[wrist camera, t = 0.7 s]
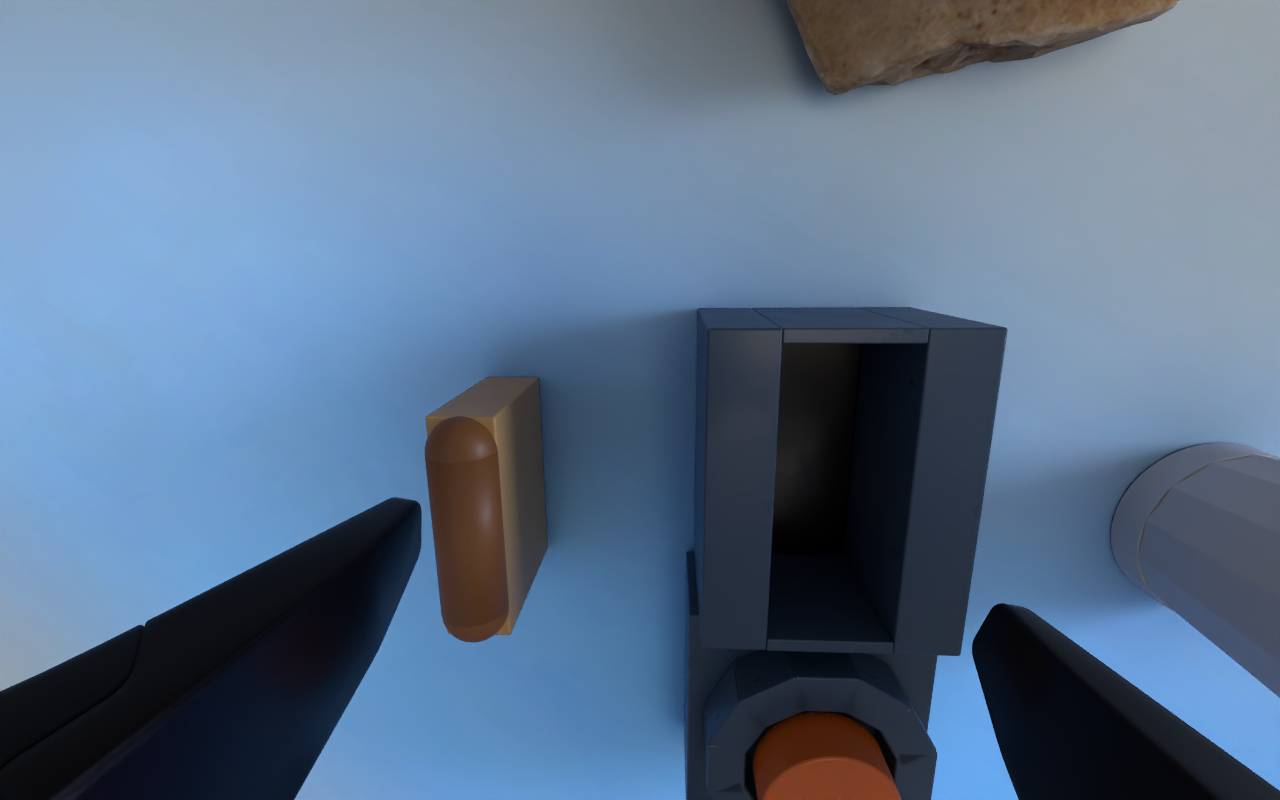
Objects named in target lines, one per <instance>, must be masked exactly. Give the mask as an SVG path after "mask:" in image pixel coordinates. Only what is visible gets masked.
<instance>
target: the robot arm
mask: <svg viewBox="0 0 1280 800" xmlns="http://www.w3.org/2000/svg"><path fill="white" fill-rule="evenodd" d="M420 549H421V506H420V504H419V503H418V502H417V501H414V500H408V499H403V498H396V497H393V498H390V499H387V500H385V501H383V502H382V503H380V504H378V505H376V506H374V507H372V508H370V509H368V510H366V511H364V512H362V513H360V514H358V515H356V516H354V517H352V518H350V519H348V520H346V521H344V522H342V523H340V524H338V525H336V526H334V527H332V528H330V529H328V530H326V531H324V532H322V533H320V534H318V535H316V536H314V537H312V538H310V539H308V540H306V541H304V542H302V543H300V544H298V545H296V546H294V547H293V548H291V549H289V550H287V551H285V552H283V553H281V554H279V555H277V556H275V557H273V558H271V559H269V560H267V561H265V562H263V563H261V564H259V565H257V566H255V567H253V568H251V569H249V570H247V571H245V572H243V573H241V574H239V575H237V576H235V577H233V578H231V579H229V580H227V581H225V582H223V583H221V584H219V585H217V586H215V587H213V588H211V589H209V590H207V591H206V592H204V593H202V594H200V595H198V596H196V597H194V598H192V599H190V600H188V601H186V602H184V603H182V604H180V605H178V606H176V607H174V608H172V609H170V610H168V611H166V612H164V613H162V614H160V615H158V616H156V617H154V618H152V619H150V620H148V621H147V622H146V624H145V627H144V626H143V625H138V626H136V627H134V628H132V629H130V630H128V631H126V632H124V633H122V634H120V635H118V636H116V637H114V638H112V639H110V640H108V641H106V642H104V643H102V644H100V645H98V646H96V647H94V648H92V649H90V650H88V651H86V652H84V653H82V654H80V655H77V656H75V657H73V658H71V659H69V660H67V661H65V662H63V663H61V664H59V665H57V666H55V667H53V668H51V669H49V670H47V671H45V672H42V673H40V674H38V675H36V676H34V677H31V678H29V679H27V680H25V681H22V682H20V683H18V684H16V685H14V686H11V687H9V688H7V689H5V690H3V691H0V800H294V799H295V797H296V795H297V794H298V792H299V790H300V788H301V787H302V785H303V783H304V781H305V780H306V778H307V776H308V774H309V773H310V771H311V769H312V767H313V765H314V764H315V762H316V760H317V758H318V757H319V755H320V753H321V751H322V750H323V748H324V746H325V744H326V743H327V741H328V739H329V737H330V735H331V734H332V732H333V730H334V728H335V727H336V725H337V723H338V721H339V720H340V718H341V716H342V714H343V713H344V711H345V709H346V707H347V705H348V704H349V702H350V700H351V698H352V697H353V695H354V693H355V691H356V690H357V688H358V686H359V684H360V682H361V681H362V679H363V677H364V675H365V674H366V672H367V670H368V668H369V667H370V665H371V663H372V661H373V659H374V657H375V655H376V653H377V652H378V650H379V647H380V645H381V643H382V641H383V639H384V636H385V634H386V632H387V630H388V627H389V625H390V623H391V620H392V618H393V616H394V613H395V611H396V609H397V606H398V604H399V602H400V599H401V597H402V595H403V592H404V590H405V588H406V585H407V583H408V581H409V578H410V576H411V574H412V571H413V569H414V567H415V564H416V562H417V560H418V557H419V553H420ZM972 654H973V659H974V662H975V666H976V669H977V673H978V676H979V679H980V683H981V686H982V690H983V693H984V697H985V700H986V704H987V707H988V710H989V714H990V717H991V721H992V724H993V728H994V731H995V735H996V738H997V741H998V744H999V748H1000V751H1001V754H1002V757H1003V760H1004V762H1005V765H1006V768H1007V771H1008V773H1009V776H1010V778H1011V781H1012V784H1013V786H1014V789H1015V791H1016V794H1017V796H1018V799H1019V800H1280V791H1279V790H1278V789H1276V788H1275V787H1274V786H1272V785H1271V784H1269V783H1268V782H1267V781H1265V780H1264V779H1263V778H1261V777H1260V776H1258V775H1257V774H1256V773H1254V772H1253V771H1252V770H1250V769H1249V768H1247V767H1246V766H1245V765H1243V764H1242V763H1240V762H1239V761H1238V760H1236V759H1235V758H1234V757H1232V756H1231V755H1229V754H1228V753H1227V752H1225V751H1224V750H1223V749H1221V748H1220V747H1218V746H1217V745H1216V744H1214V743H1213V742H1211V741H1210V740H1209V739H1207V738H1206V737H1205V736H1203V735H1202V734H1200V733H1199V732H1198V731H1196V730H1195V729H1194V728H1192V727H1191V726H1189V725H1188V724H1187V723H1185V722H1184V721H1182V720H1181V719H1180V718H1178V717H1177V716H1176V715H1174V714H1173V713H1171V712H1170V711H1169V710H1167V709H1166V708H1165V707H1163V706H1162V705H1160V704H1159V703H1158V702H1156V701H1155V700H1153V699H1152V698H1151V697H1149V696H1148V695H1147V694H1145V693H1144V692H1142V691H1141V690H1140V689H1138V688H1137V687H1136V686H1134V685H1133V684H1131V683H1130V682H1129V681H1127V680H1126V679H1124V678H1123V677H1122V676H1120V675H1119V674H1118V673H1116V672H1115V671H1113V670H1112V669H1111V668H1109V667H1108V666H1107V665H1105V664H1104V663H1102V662H1101V661H1100V660H1098V659H1097V658H1095V657H1094V656H1093V655H1091V654H1090V653H1089V652H1087V651H1086V650H1084V649H1083V648H1082V647H1080V646H1079V645H1078V644H1076V643H1075V642H1073V641H1072V640H1071V639H1069V638H1068V637H1066V636H1065V635H1064V634H1062V633H1061V632H1060V631H1058V630H1057V629H1055V628H1054V627H1053V626H1051V625H1050V624H1049V623H1047V622H1046V621H1044V620H1043V619H1042V618H1040V617H1039V616H1037V615H1036V614H1035V613H1033V612H1032V611H1030V610H1029V609H1027V608H1024V607H1021V606H1015V605H1009V604H1004V603H1001V604H997V605H995V606H994V607H993V608H992V609H991V610H990V612H989V614H988V616H987V617H986V619H985V621H984V622H983V624H982V626H981V627H980V629H979V631H978V633H977V634H976V636H975V638H974V640H973V644H972Z"/></svg>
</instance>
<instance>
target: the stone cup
mask: <svg viewBox="0 0 1280 800" xmlns="http://www.w3.org/2000/svg"><path fill="white" fill-rule="evenodd" d="M786 1H787V4H788V6H789V8H790V11H791V13H792V16H793V18H794V20H795V23H796V25H797V27H798V30H799V33H800V36H801V38H802V41H803V44H804V46H805V49H806V51H807V53H808V56H809V58H810V60H811V62H812V65H813V67H814V69H815V71H816V73H817V74H818V76H819V78H820V80H821V82H822V83H823V85H824V87H825V89H826V90H827V92H829V93H832V94H834V95H837V94H841V93H845V92H847V91H849V90H851V89H854V88H857V87H860V86H863V85H897V84H899V83H902V82H904V81H906V80H908V79H911V78H919V77H923V76H926V75H929V74H933V73H948V72H952V71H956V70H959V69H961V68H963V67H965V66H967V65H970V64H974V63H978V62H982V61H986V60H987V61H991V62H1003V61H1014V60H1022V59H1029V58H1035V57H1038V56H1041V55H1043V54H1046V53H1049V52H1052V51H1055V50H1058V49H1062V48H1065V47H1069V46H1072V45H1075V44H1079V43H1082V42H1085V41H1088V40H1091V39H1094V38H1097V37H1099V36H1102V35H1105V34H1107V33H1110V32H1113V31H1115V30H1119V29H1122V28H1125V27H1128V26H1131V25H1135V24H1139V23H1143V22H1147V21H1151V20H1153V19H1155V18H1156V17H1158V16H1160V15H1162V14H1163V13H1165V12H1167V11H1168V10H1170V9H1172V8H1173V7H1174V6H1175V5H1176V4H1177V2H1178V1H1179V0H786Z"/></svg>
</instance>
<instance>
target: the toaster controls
mask: <svg viewBox="0 0 1280 800" xmlns="http://www.w3.org/2000/svg"><path fill="white" fill-rule="evenodd" d="M936 662H937V655H913V654H894V653H892V654H868V653H832V652H797V651H768V650H767V649H766V650H739V649H704V648H702V647H701V638H700V625H699V611H698V598H697V584H696V571H695V558H694V552H686V601H685V688H684V746H685V786H686V800H758V799H757V793H756V786H755V780H754V774H753V757H754V753H755V750H756V747H757V745H758V743H759V741H760V740H761V738H762V737H763V735H764V734H765V733H766V732H767V731H768V730H769V729H770V728H771V727H772V726H774V725H775V724H777V723H778V722H780V721H782V720H784V719H787V718H789V717H791V716H793V715H796V714H799V713H803V712H811V711H818V712H833V713H838V714H841V715H844V716H847V717H849V718H851V719H853V720H855V721H856V722H858V723H860V724H861V725H862V726H863V727H865V728H866V729H867V730H868V731H869V732H870V733H871V734H872V735H873V737H874V738H875V739H876V741H877V743H878V745H879V747H880V749H881V751H882V754H883V756H884V759H885V761H886V763H887V766H888V768H889V770H890V773H891V775H892V777H893V780H894V782H895V784H896V787H897V789H898V792H899V794H900V797H901V800H931V795H932V788H933V781H934V774H935V767H936V760H937V752H936V748H935V746H934V745H933V743H932V741H931V739H930V737H929V735H928V733H927V729H928V721H929V714H930V706H931V699H932V691H933V684H934V676H935V669H936Z"/></svg>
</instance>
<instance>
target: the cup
mask: <svg viewBox="0 0 1280 800" xmlns="http://www.w3.org/2000/svg"><path fill="white" fill-rule="evenodd" d="M1111 546H1112V551H1113V554H1114V557H1115V560H1116V562H1117V564H1118V566H1119V568H1120V569H1121V571H1122V572H1123V573H1124V575H1125V576H1126V577H1127V578H1128V579H1129V580H1130V581H1131V582H1133V583H1134V584H1135V585H1136V586H1138V587H1139V588H1141V589H1142V590H1144V591H1145V592H1146V593H1148V594H1149V595H1151V596H1152V597H1153V598H1155V599H1156V600H1158V601H1159V602H1160V603H1162V604H1163V605H1165V606H1166V607H1168V608H1169V609H1171V610H1173V611H1175V612H1176V613H1177V614H1178V615H1180V616H1181V617H1182V618H1183V619H1185V620H1186V621H1187V622H1188V623H1189V624H1191V625H1192V626H1193V627H1194V628H1196V629H1197V630H1198V631H1199V632H1200V633H1202V634H1203V635H1204V636H1205V637H1206V638H1208V639H1209V640H1210V641H1211V642H1213V643H1214V644H1215V645H1216V646H1217V647H1219V648H1220V649H1221V650H1222V651H1224V652H1225V653H1226V654H1227V655H1228V656H1230V657H1231V658H1232V659H1233V660H1234V661H1236V662H1237V663H1238V664H1239V665H1241V666H1242V667H1243V668H1244V669H1245V670H1247V671H1248V672H1249V673H1250V674H1251V675H1253V676H1254V677H1255V678H1256V679H1258V680H1259V681H1260V682H1261V683H1262V684H1264V685H1265V686H1266V687H1267V688H1269V689H1270V690H1271V691H1272V692H1273V693H1275V694H1276V695H1277V696H1278V697H1279V698H1280V457H1278V456H1275V455H1272V454H1269V453H1265V452H1262V451H1259V450H1256V449H1253V448H1250V447H1247V446H1244V445H1239V444H1233V443H1208V444H1201V445H1197V446H1192V447H1189V448H1186V449H1183V450H1180V451H1177V452H1175V453H1173V454H1171V455H1169V456H1167V457H1165V458H1163V459H1161V460H1160V461H1158V462H1156V463H1155V464H1153V465H1152V466H1151V467H1149V468H1148V469H1147V470H1146V471H1144V472H1143V473H1142V474H1141V475H1140V476H1139V477H1138V478H1137V479H1136V480H1135V481H1134V482H1133V483H1132V484H1131V486H1130V487H1129V488H1128V490H1127V491H1126V492H1125V494H1124V495H1123V497H1122V499H1121V501H1120V502H1119V504H1118V507H1117V509H1116V512H1115V514H1114V518H1113V522H1112V527H1111Z"/></svg>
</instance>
